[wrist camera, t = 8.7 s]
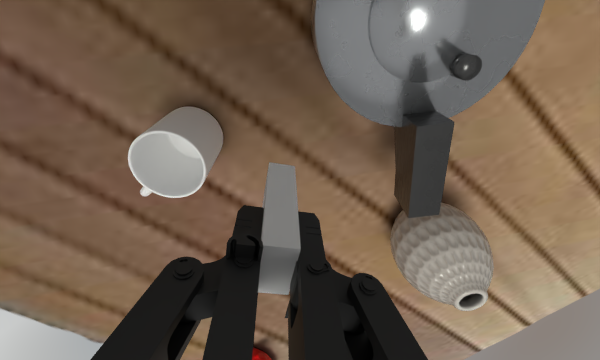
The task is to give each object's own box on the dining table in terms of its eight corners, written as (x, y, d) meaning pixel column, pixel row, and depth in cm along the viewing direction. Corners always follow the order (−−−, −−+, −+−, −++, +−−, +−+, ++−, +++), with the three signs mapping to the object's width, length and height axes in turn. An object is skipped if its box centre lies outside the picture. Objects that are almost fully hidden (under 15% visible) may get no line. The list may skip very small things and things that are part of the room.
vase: (470, 202, 47) (551, 283, 32) (422, 253, 52) (473, 342, 38) (410, 173, 44) (470, 249, 29) (365, 230, 49) (397, 318, 35)
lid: (295, -194, 18) (296, -258, 14) (595, -244, 17) (690, -326, 13) (328, 201, 33) (333, 226, 29) (487, 182, 33) (515, 206, 29)
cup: (236, 134, 40) (221, 166, 31) (187, 185, 43) (161, 227, 35) (186, 91, 36) (153, 114, 28) (139, 151, 40) (97, 187, 32)
